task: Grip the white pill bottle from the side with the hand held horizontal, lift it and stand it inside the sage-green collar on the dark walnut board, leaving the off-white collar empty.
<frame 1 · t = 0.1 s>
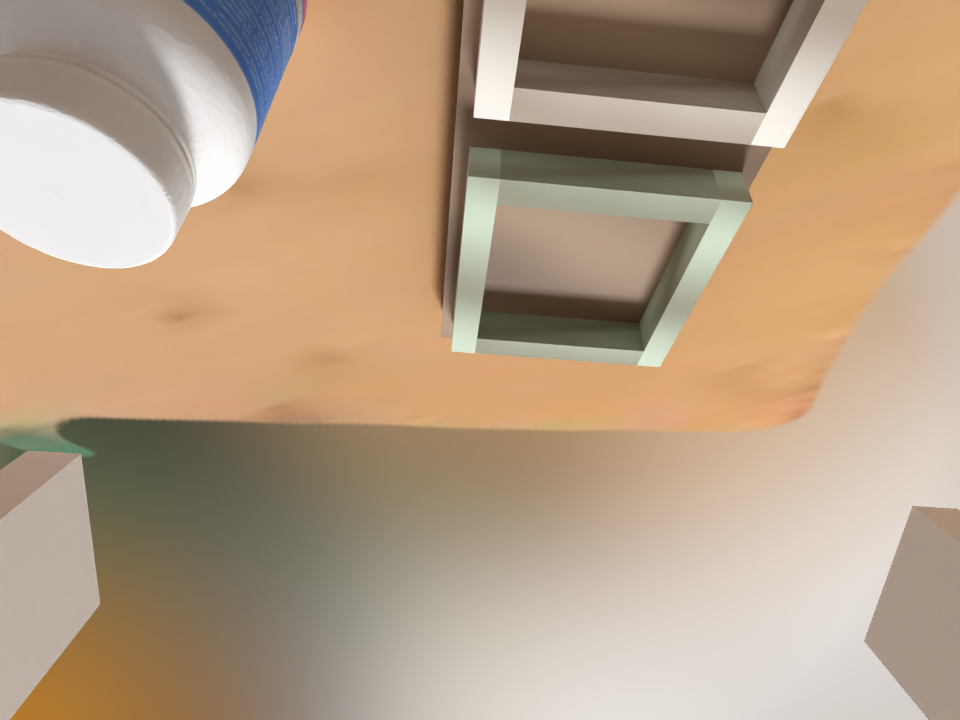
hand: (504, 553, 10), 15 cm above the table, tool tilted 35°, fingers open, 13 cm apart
board: (611, 105, 20), on the table
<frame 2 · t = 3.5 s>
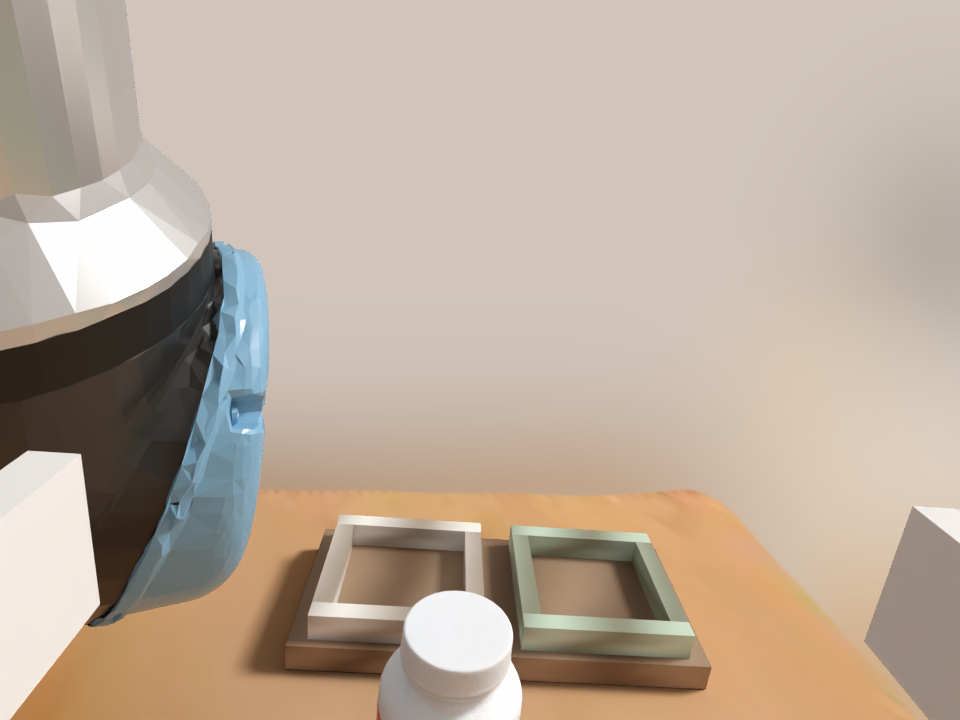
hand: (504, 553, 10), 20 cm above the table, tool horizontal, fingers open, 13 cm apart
board: (494, 610, 37), on the table
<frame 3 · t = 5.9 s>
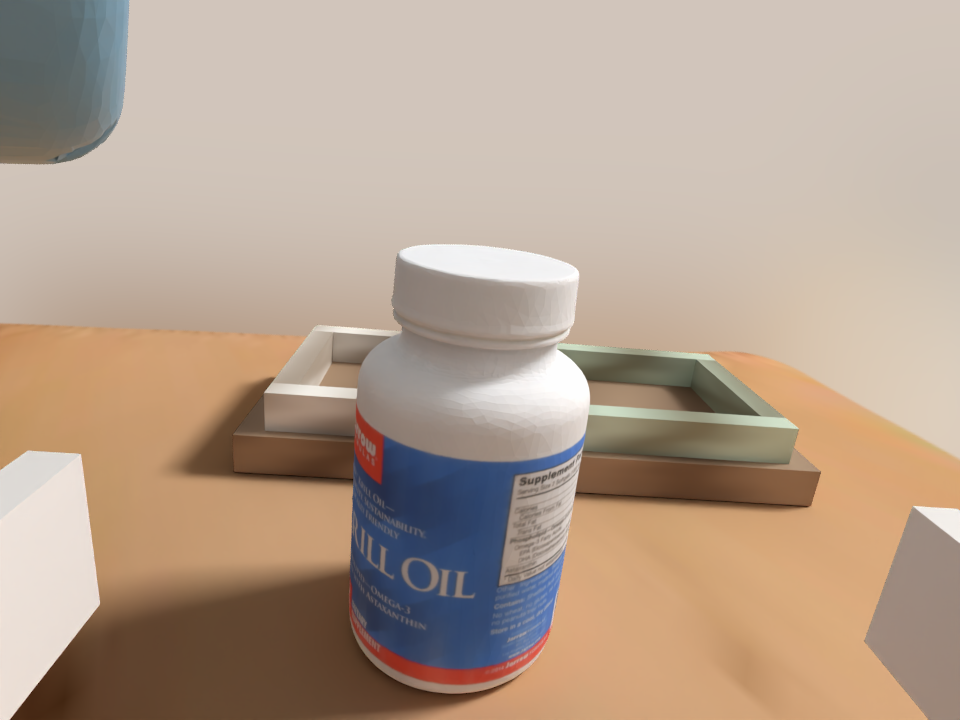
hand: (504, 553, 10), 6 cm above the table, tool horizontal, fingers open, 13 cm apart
board: (518, 432, 28), on the table
pill bottle: (450, 625, 17), on the table
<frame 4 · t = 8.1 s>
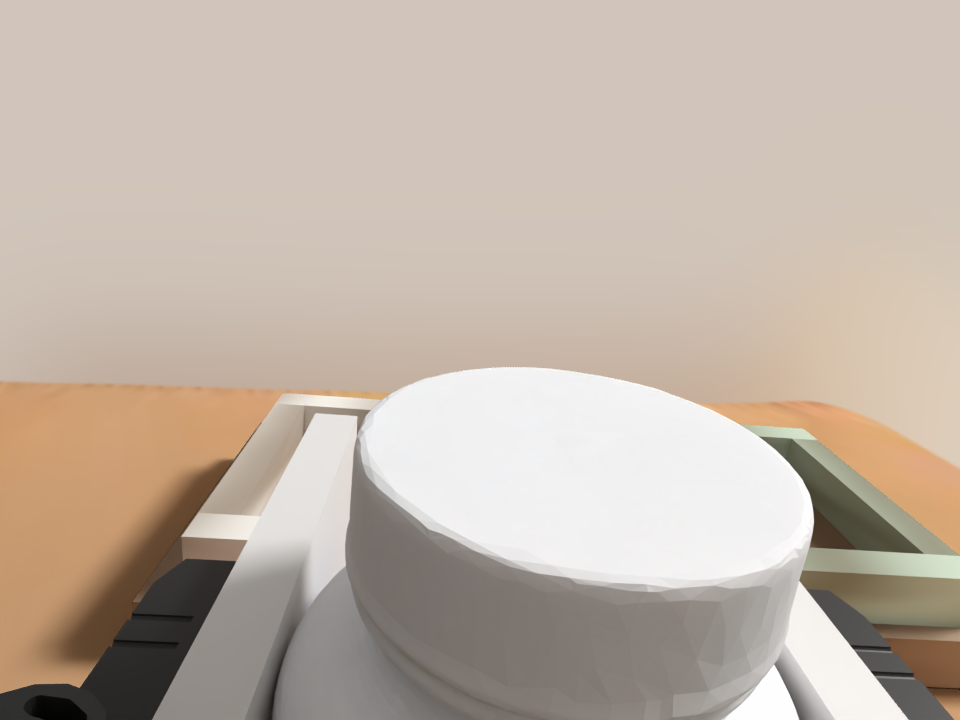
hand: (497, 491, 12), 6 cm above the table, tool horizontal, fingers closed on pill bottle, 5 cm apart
board: (557, 550, 20), on the table
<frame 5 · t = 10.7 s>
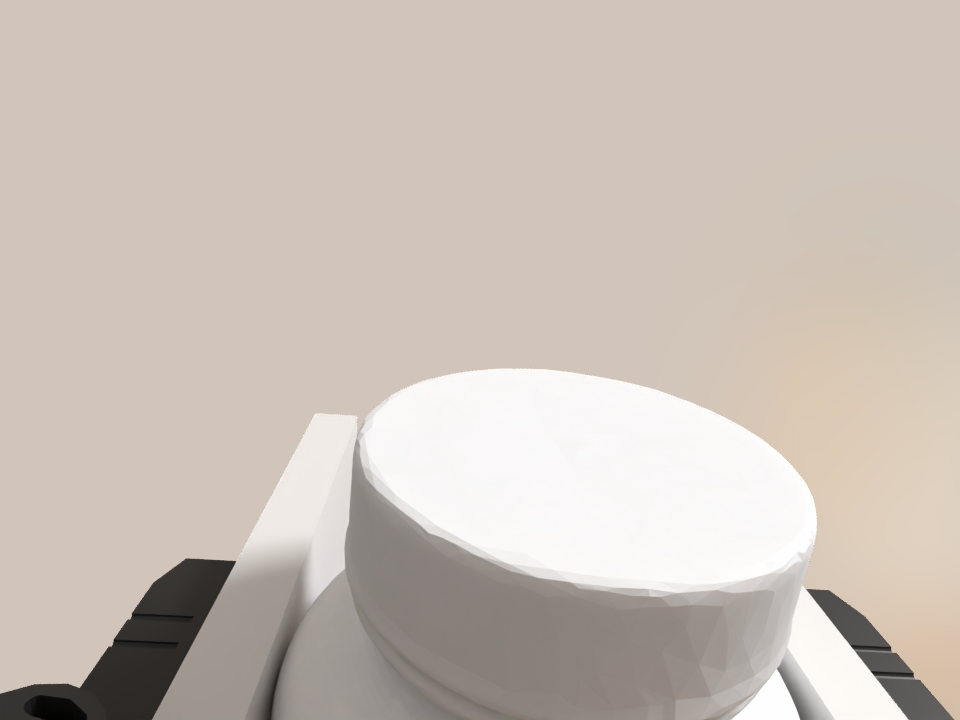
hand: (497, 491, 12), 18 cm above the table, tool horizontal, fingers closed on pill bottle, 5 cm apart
when the fingers open (9 cm above the table, at t = 13.1 s): pill bottle drops 1 cm, resting on board.
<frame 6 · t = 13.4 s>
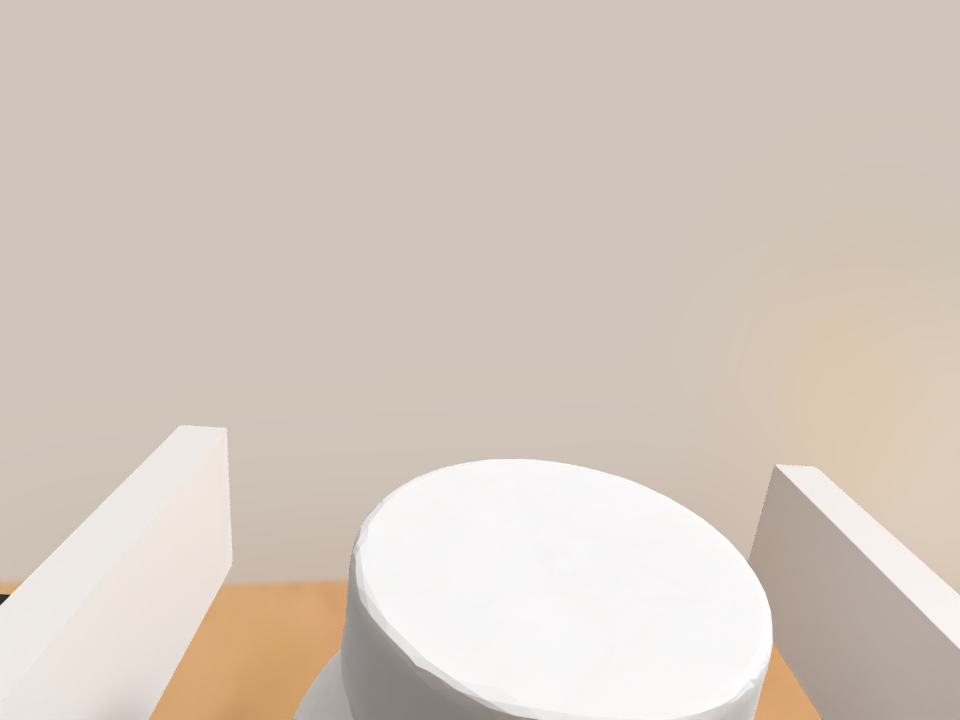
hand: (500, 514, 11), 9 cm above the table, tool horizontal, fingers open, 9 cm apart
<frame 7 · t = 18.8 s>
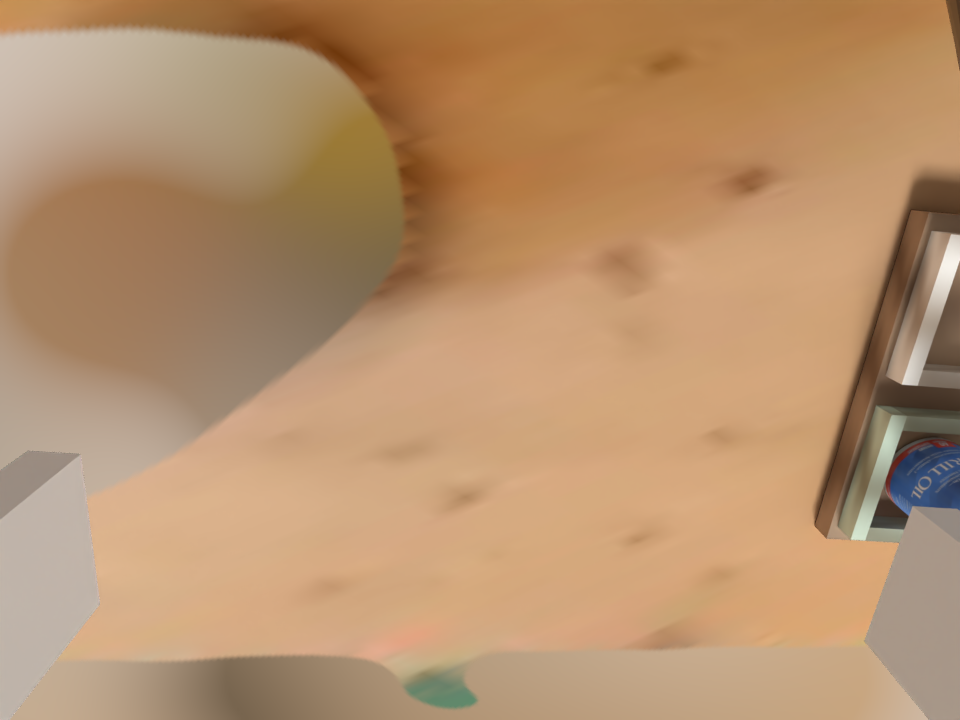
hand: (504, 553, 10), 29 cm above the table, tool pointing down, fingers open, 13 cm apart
board: (931, 387, 41), on the table
pill bottle: (918, 470, 41), point 1 cm above the table, touching board
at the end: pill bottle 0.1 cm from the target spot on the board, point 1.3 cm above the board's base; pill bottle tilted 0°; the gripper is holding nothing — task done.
